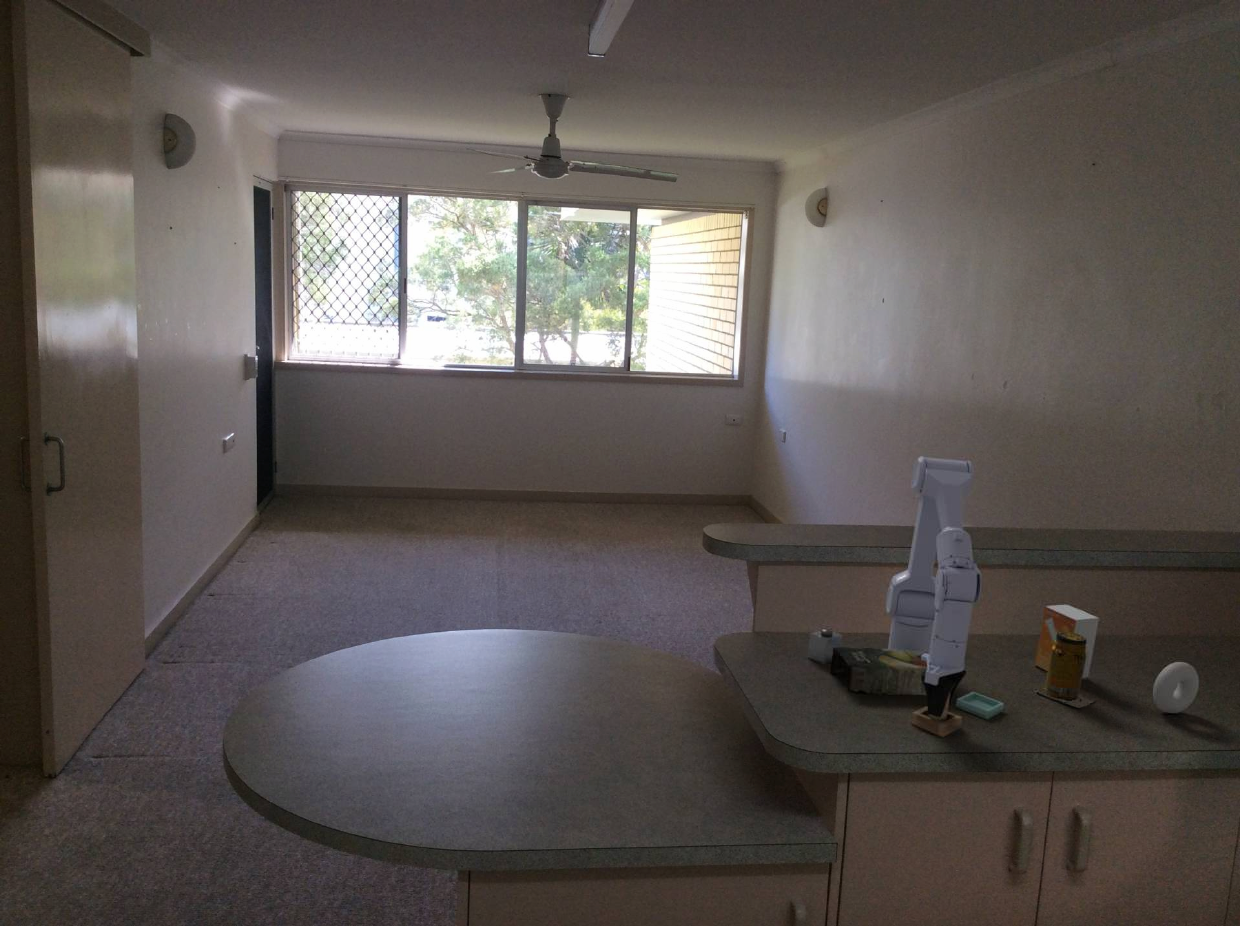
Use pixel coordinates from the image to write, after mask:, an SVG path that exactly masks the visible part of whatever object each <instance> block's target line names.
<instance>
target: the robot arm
mask: <svg viewBox="0 0 1240 926" xmlns="http://www.w3.org/2000/svg"><path fill="white" fill-rule="evenodd" d="M974 479H975V469H974V465H973V464H972V461H970V460H965V461H964V460H955V459H948V458H947V459H946V458H935V457H925V456H921V455H920V456H919V457H918V458H917V459H916V460H915V462H914V465H913V472H912V477H911V483H910V488H911V489H910V490H911V492H912V493H914V494H918V499H919V500H918V507H917V512H916V519H915V524H914V530H913V535H912V543H911V546H910V547H911V549H910V554H909V559H908V565H907V569H906V570H904V571H902V572H900V573H897V574H894V575H893V576H892V578H891V579H890V582H889V583H890V584H889V587H888V589H887V593H886V598H885V599H886V600H885V608H886V613H887V614H888V616H889V617H891V625H890V632H889V639H888V646H887V649H897V650H909V651H924V652H928V653H929V654H927V653H924V654H923V655H922V656H921V659H922V660H924V661H926V662H927V671H924V672H922V673H921V680H922V682H923V684H924V687H925V691H926V695H925V697H926V706H927V708H928V714H931V715H934V716H937V717H941V715H942V713H943V711H944V708H945V705H946V702H947V699H948V696H949V694H950V698H949V705H948V709H949V708H950V706H951V704H952V701H953V699H954V696H955V693H956V692H957V691H956V690H957V689H958V686H959V685H960V683H961V682H962V680H963V679H964V678H965V677H966V675H967V670H965V659H966V658H965V657H966V652H967V646H968V640H969V632H970V627H971V621H972V620H971V619H972V613H973V608H974V604H977V603H978V601H979V600H980V597H981V591H982V574H981V570H980V569H979V568H978V564H977V563H974V557H973V556H974V554H973V548H972V547H973V546H972V540H971V536H970V534H969V532H967V531H965V530H964V500H966V499H967V498H968V495H969V493H970V492H971V490H972V489H973V485H974ZM936 556H937V566H938V569H937V572H936V575H935V576H933V572H934V571H933V570H934V568H935V567H934V566H935V561H936Z"/></svg>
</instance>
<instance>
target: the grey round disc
mask: <svg viewBox="0 0 1240 926" xmlns="http://www.w3.org/2000/svg"><path fill="white" fill-rule="evenodd" d="M1199 683H1200V680H1199V675H1198V672H1197V671H1196V669H1195V667H1194V666H1192V665H1191V664H1189V663H1187V662H1183V661H1175V662H1173V663H1169V664H1168V665H1166V667H1164V668H1163V669H1162V670H1161V672H1160V673H1159V674H1158V676H1157V677H1156V679H1155V682H1154V685H1153V688H1152V689H1153V690H1152V699H1153V702H1154V704H1155V705H1156V707H1157V708H1158V709H1159V710H1160V711H1162V712H1164V713H1165V712H1168V713H1176V714H1178V713H1181V712H1184V711H1185V710H1186V709H1187V708H1189V707H1190V705H1191V704H1192V703H1193V702H1194V700H1195V698H1196V696H1197V693H1198V691H1199ZM1168 713H1167V714H1168Z"/></svg>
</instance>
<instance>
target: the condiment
mask: <svg viewBox="0 0 1240 926" xmlns="http://www.w3.org/2000/svg"><path fill="white" fill-rule="evenodd" d="M1086 643H1087V640H1086V639H1085V638H1084V637H1083V636H1081V635H1078V634H1075V633H1071V632H1059V633H1057V635H1056V641H1055V645H1054V646H1053V647H1052V650H1051V655H1050V662H1049V665H1048V666H1049V667H1048V672H1046V677H1045V678H1046V679H1045V683H1044V684H1045V685H1044V689H1045V693H1047V695H1050V696H1051V697H1054V698H1057V699H1062V700H1063V699H1064V700H1066V701H1072V700H1076V699H1077V698H1078V696H1079V695H1081V688H1082V683H1083V682H1082V681H1083V680H1082V677H1083V672H1084V667H1085V661H1086V653H1085V650H1086ZM1037 691H1038V690H1037ZM1037 691H1036V690H1035V692H1037Z"/></svg>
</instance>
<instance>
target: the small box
mask: <svg viewBox="0 0 1240 926" xmlns="http://www.w3.org/2000/svg"><path fill="white" fill-rule="evenodd" d="M1042 619H1043V620H1042V624H1041V629H1040V635H1039V638H1038V645H1037V650H1036V657H1035V662H1034V663H1035V664H1034V666H1035V665H1036V666H1039V667H1041V668H1043V669H1044V670H1046V671H1048V667H1049V666H1048V665H1049V662H1050V655H1051V650H1052V647H1053V646H1054V645H1055V641H1056V635H1057V633H1059V632H1071V633H1075V634H1078V635H1081V636H1083V637H1084V638H1085V639H1086V640H1087V643H1086V650H1085V653H1086V661H1085V667H1084V672H1083V677H1082V678H1084V677H1088V678H1089V674H1090V669H1091V664H1092V658H1093V653H1094V647H1095V641H1096V637H1097V632H1098V626H1099V620H1100V618H1099V617H1098V616H1095V615H1092V614H1090V613H1088V612H1086V611H1084V610H1081V609H1080V608H1076V607H1074V606H1071V605H1069V604H1058V605H1057V604H1055V605H1046V606H1045V607H1044V613H1043V617H1042ZM1036 666H1035V667H1036ZM1044 670H1043V671H1044ZM1046 671H1045V672H1046Z"/></svg>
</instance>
